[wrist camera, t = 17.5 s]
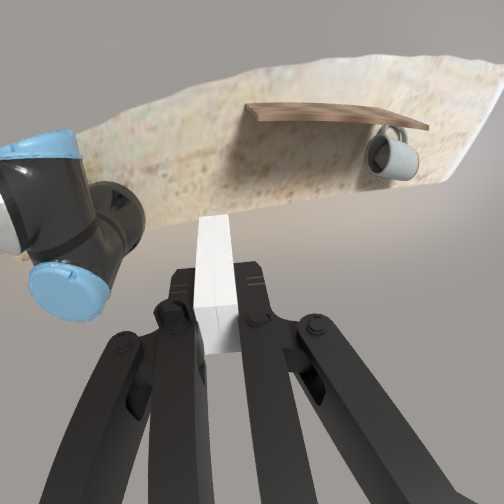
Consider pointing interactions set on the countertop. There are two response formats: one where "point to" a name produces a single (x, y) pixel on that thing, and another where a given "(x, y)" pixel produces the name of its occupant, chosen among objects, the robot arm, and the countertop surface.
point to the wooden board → (330, 114)
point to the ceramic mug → (392, 156)
